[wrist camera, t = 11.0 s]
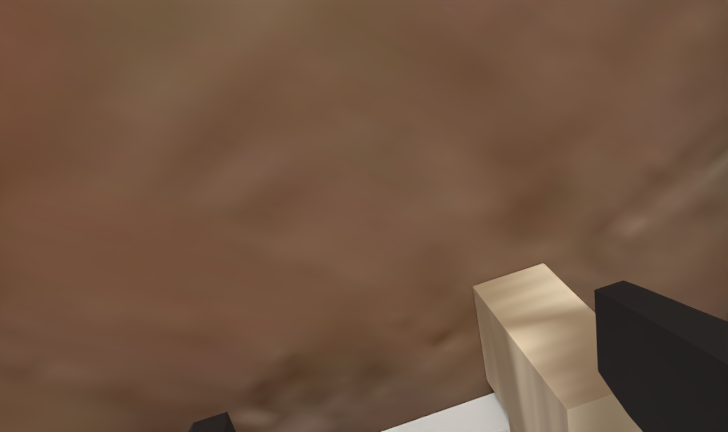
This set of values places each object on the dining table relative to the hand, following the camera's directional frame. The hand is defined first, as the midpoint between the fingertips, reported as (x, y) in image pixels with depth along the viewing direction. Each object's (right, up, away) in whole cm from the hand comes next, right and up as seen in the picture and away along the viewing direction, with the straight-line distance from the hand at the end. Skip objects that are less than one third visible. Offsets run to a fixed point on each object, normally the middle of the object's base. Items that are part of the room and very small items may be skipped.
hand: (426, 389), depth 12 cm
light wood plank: (+6, -5, +16) cm, 18 cm away
